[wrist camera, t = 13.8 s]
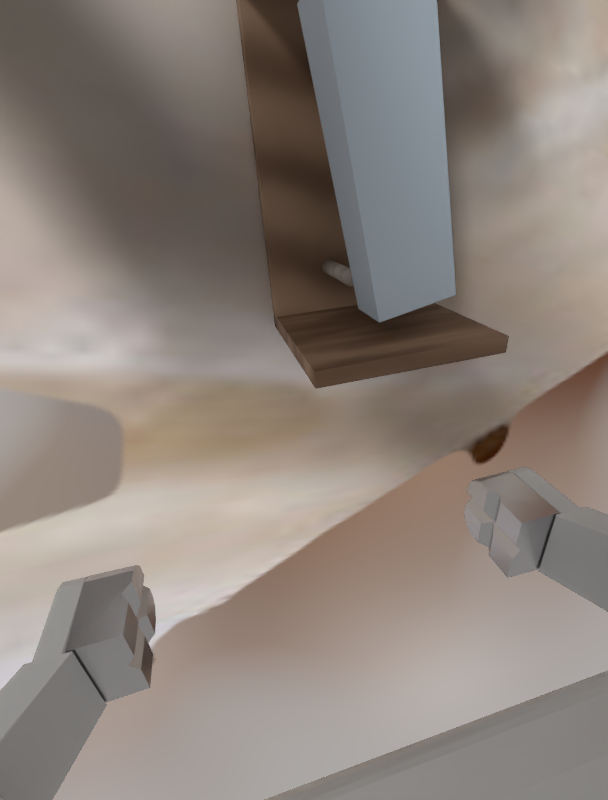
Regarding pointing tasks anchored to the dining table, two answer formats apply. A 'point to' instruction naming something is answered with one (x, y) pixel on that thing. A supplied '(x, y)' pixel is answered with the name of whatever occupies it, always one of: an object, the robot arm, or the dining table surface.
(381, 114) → the shelf board
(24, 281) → the dining table surface
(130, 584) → the robot arm
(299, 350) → the shelf rack
